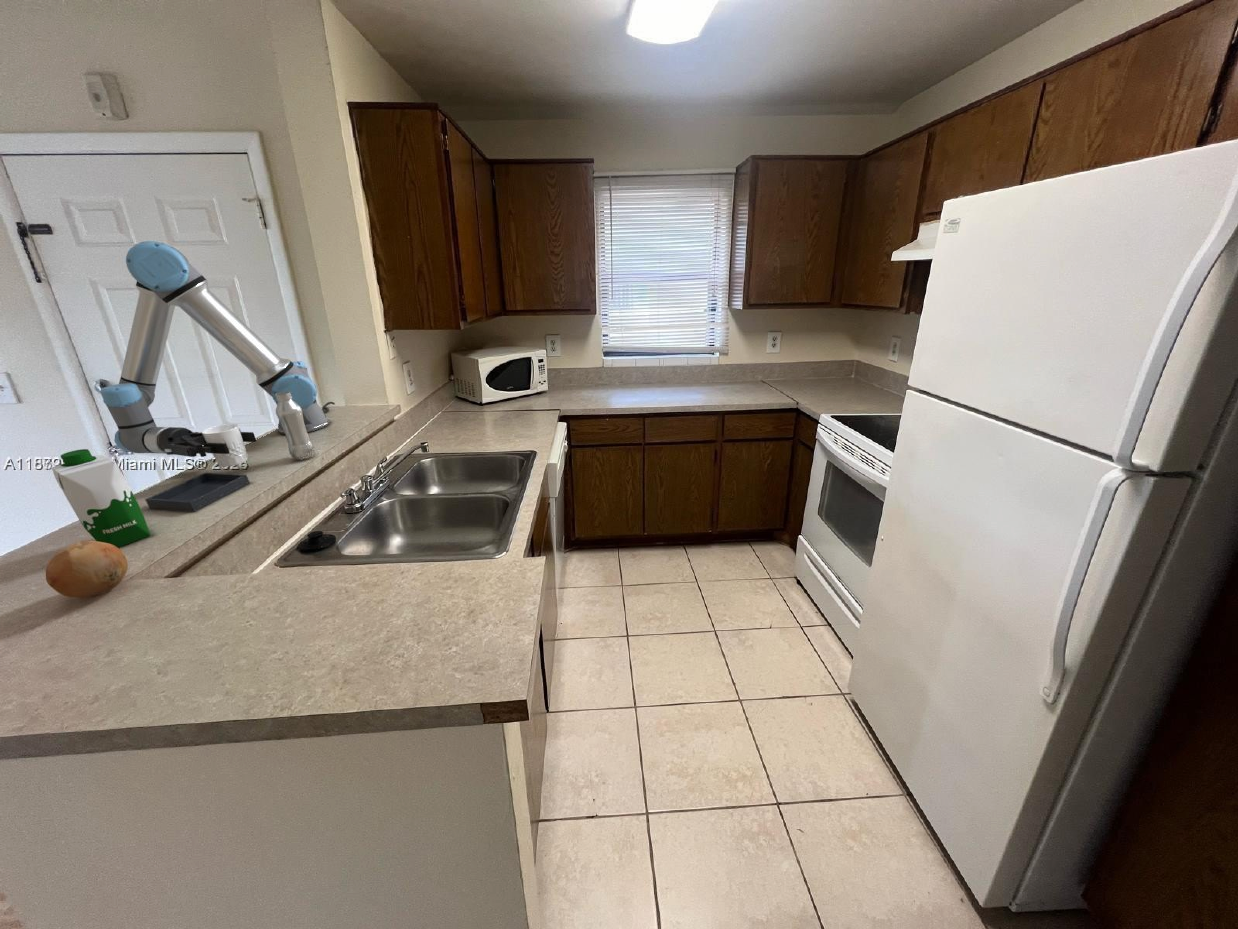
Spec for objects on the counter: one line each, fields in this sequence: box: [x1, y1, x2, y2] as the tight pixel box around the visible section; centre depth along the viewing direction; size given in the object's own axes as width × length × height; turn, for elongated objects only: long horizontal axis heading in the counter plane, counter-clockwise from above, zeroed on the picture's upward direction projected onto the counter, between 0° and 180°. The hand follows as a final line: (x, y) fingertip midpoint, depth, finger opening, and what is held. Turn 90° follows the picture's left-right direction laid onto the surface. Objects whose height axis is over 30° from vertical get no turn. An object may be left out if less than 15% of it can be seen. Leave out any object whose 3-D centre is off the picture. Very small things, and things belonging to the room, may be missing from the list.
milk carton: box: [51, 448, 152, 549], centre depth 98 cm, size 9×9×20 cm
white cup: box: [201, 423, 249, 468], centre depth 129 cm, size 8×8×10 cm
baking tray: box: [144, 472, 251, 513], centre depth 120 cm, size 15×13×3 cm
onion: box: [45, 540, 129, 599], centre depth 84 cm, size 10×10×10 cm
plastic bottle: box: [275, 391, 316, 461], centre depth 137 cm, size 6×7×20 cm
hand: (240, 442), depth 128 cm, fingers closed on white cup, 8 cm apart
